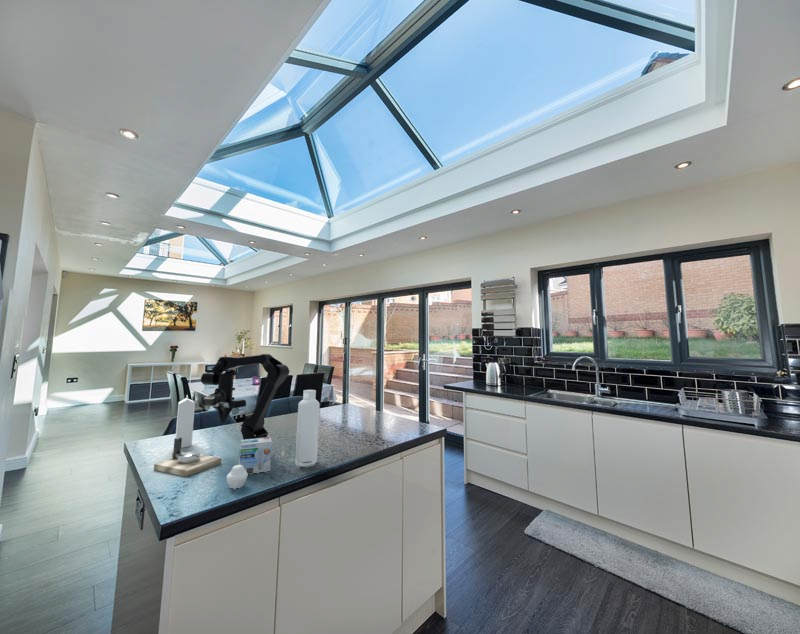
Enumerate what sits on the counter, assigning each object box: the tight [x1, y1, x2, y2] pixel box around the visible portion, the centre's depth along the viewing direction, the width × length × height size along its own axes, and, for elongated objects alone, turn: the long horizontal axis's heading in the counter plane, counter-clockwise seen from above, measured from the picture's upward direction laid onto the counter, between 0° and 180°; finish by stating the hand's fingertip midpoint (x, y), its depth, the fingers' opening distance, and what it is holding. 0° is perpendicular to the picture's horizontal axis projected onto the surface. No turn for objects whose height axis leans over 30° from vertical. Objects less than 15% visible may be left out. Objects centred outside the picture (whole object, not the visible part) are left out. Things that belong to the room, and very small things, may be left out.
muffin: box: [225, 464, 248, 489], centre depth 105 cm, size 6×6×7 cm
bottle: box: [294, 389, 321, 466], centre depth 127 cm, size 8×8×28 cm
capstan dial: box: [171, 438, 201, 464], centre depth 122 cm, size 12×7×7 cm, turn 67°
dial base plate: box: [153, 453, 222, 478], centre depth 121 cm, size 17×14×2 cm
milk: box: [174, 394, 196, 448], centre depth 146 cm, size 6×6×22 cm
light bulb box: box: [238, 436, 273, 475], centre depth 119 cm, size 11×7×11 cm, turn 117°
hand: (222, 422), depth 139 cm, fingers closed
